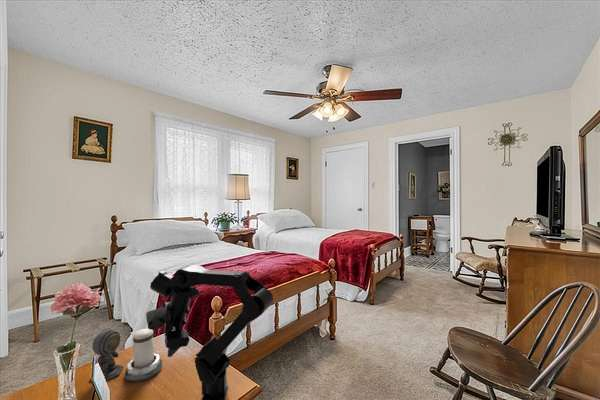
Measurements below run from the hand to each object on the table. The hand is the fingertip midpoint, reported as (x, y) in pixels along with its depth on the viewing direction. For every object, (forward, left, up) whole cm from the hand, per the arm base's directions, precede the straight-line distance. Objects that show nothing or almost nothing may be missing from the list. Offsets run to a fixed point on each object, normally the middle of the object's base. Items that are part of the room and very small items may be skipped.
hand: (167, 345), depth 88 cm
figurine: (+23, -5, -12) cm, 26 cm away
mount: (+11, -6, -12) cm, 17 cm away
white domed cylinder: (+10, -6, -10) cm, 16 cm away
